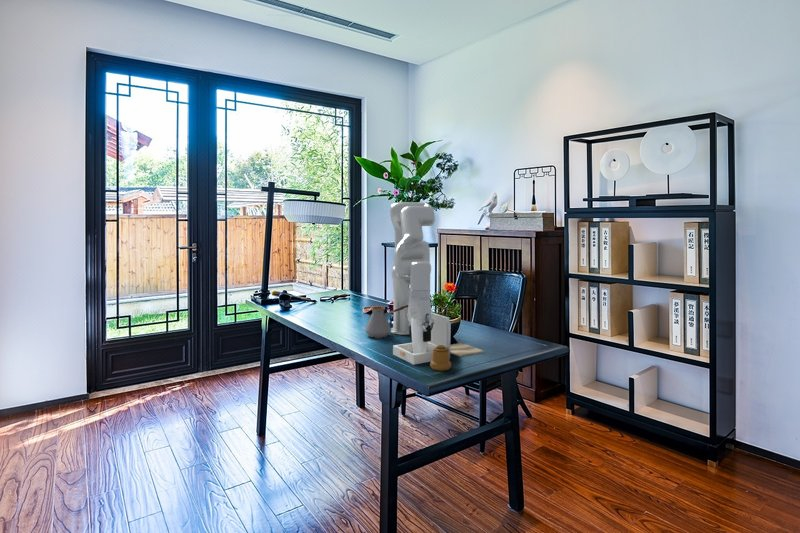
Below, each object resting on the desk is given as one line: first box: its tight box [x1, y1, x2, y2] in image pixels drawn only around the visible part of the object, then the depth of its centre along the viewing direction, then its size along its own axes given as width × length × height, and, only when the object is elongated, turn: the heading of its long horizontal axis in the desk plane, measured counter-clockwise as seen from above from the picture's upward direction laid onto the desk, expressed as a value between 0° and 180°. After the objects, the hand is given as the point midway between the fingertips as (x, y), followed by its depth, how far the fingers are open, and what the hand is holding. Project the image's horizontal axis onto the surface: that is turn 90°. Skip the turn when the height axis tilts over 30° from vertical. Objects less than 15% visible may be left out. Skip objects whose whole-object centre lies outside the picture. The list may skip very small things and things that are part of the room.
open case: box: [392, 311, 452, 366], centre depth 180 cm, size 16×16×16 cm
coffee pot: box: [364, 305, 408, 339], centre depth 211 cm, size 21×12×15 cm, turn 85°
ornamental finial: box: [429, 345, 452, 372], centre depth 167 cm, size 8×8×8 cm
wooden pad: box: [450, 342, 485, 358], centre depth 190 cm, size 14×12×1 cm
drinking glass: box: [411, 318, 428, 354], centre depth 180 cm, size 7×7×15 cm
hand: (419, 338), depth 180 cm, fingers open, 9 cm apart
